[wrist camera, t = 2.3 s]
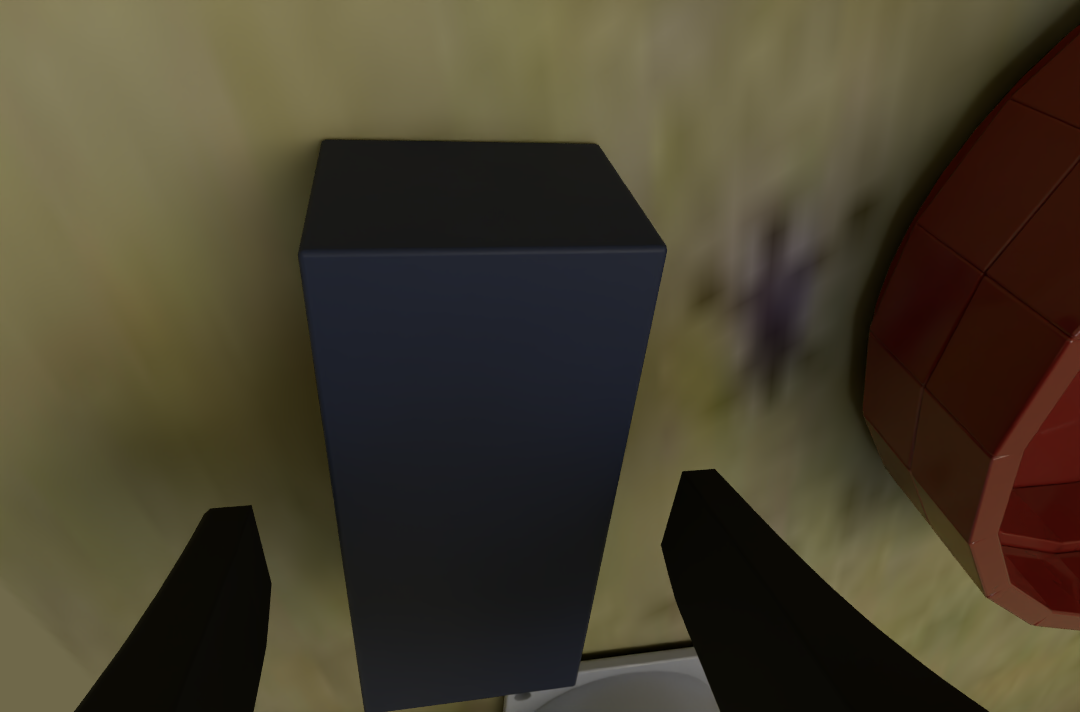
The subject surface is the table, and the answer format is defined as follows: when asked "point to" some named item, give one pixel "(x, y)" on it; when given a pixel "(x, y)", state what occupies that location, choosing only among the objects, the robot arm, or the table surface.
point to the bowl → (994, 350)
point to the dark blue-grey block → (473, 400)
